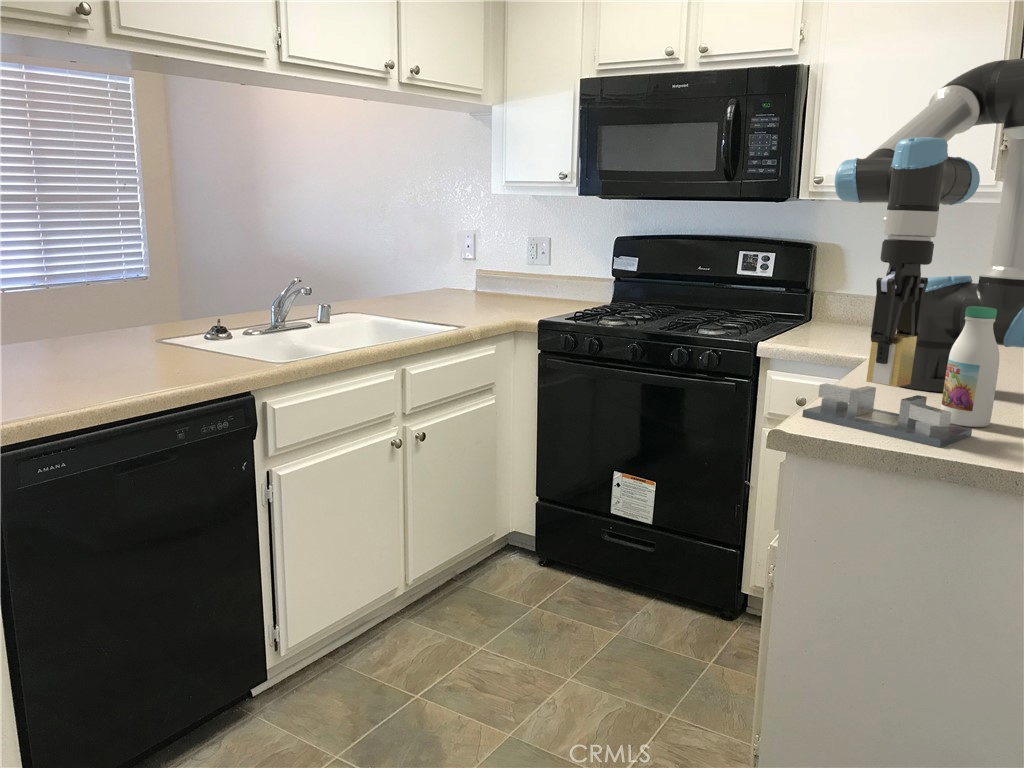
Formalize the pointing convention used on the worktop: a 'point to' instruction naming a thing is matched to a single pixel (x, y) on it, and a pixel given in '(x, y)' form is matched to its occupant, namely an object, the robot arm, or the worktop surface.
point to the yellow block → (897, 360)
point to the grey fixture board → (886, 416)
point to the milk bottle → (972, 370)
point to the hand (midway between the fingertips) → (889, 381)
